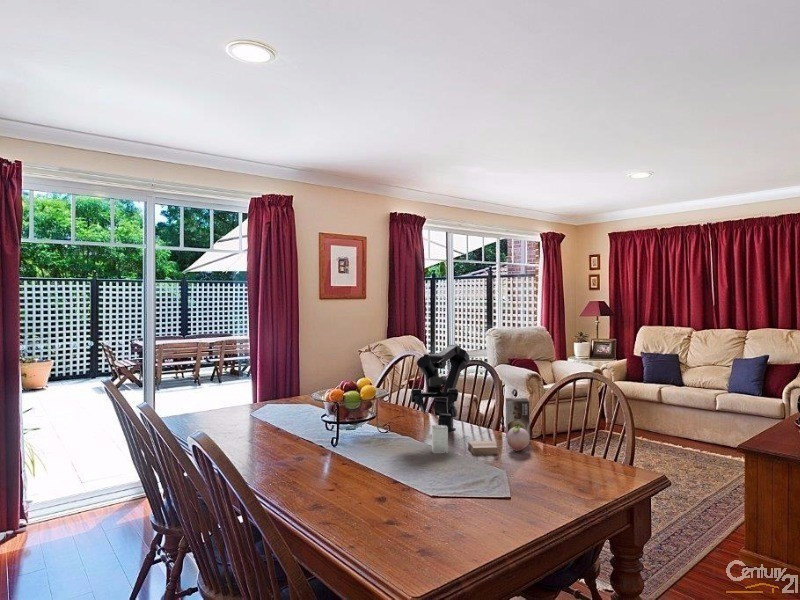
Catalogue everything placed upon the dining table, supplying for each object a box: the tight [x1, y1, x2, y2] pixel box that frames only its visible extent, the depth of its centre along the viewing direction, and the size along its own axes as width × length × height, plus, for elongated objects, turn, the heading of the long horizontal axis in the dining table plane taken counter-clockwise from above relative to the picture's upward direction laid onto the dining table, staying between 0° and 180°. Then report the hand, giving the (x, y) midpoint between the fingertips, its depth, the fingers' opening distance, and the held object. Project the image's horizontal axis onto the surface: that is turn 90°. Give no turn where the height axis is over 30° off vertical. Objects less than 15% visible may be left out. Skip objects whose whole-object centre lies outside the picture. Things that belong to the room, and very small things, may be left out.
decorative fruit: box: [506, 425, 530, 452], centre depth 192 cm, size 9×8×10 cm
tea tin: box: [431, 424, 449, 454], centre depth 192 cm, size 4×6×10 cm
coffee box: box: [505, 397, 531, 441], centre depth 211 cm, size 9×6×16 cm
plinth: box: [467, 440, 498, 456], centre depth 193 cm, size 9×9×2 cm
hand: (436, 413), depth 199 cm, fingers open, 9 cm apart
